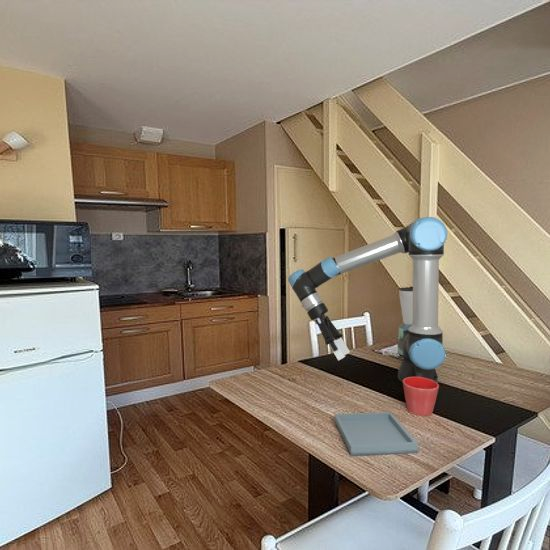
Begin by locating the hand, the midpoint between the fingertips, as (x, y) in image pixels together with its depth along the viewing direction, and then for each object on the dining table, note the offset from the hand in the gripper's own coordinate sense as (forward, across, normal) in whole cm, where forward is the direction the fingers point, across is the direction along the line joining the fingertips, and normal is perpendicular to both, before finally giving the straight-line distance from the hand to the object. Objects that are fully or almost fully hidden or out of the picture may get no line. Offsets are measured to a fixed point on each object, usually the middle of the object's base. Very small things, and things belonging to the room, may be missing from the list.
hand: (344, 356), depth 129 cm
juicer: (+19, -56, +18) cm, 61 cm away
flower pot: (+27, +4, +13) cm, 30 cm away
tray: (+22, +25, 0) cm, 33 cm away
